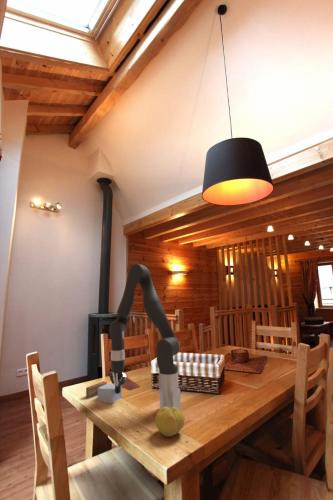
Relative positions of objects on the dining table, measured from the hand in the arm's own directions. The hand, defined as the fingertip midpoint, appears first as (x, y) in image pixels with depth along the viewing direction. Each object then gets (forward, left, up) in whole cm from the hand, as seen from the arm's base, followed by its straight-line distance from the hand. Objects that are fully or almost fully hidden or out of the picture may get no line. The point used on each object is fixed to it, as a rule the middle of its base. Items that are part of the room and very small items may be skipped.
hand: (117, 393), depth 135 cm
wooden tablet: (+18, -22, -5) cm, 29 cm away
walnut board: (+18, 0, -4) cm, 18 cm away
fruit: (-41, +10, -4) cm, 43 cm away
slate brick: (+7, 0, -4) cm, 8 cm away
